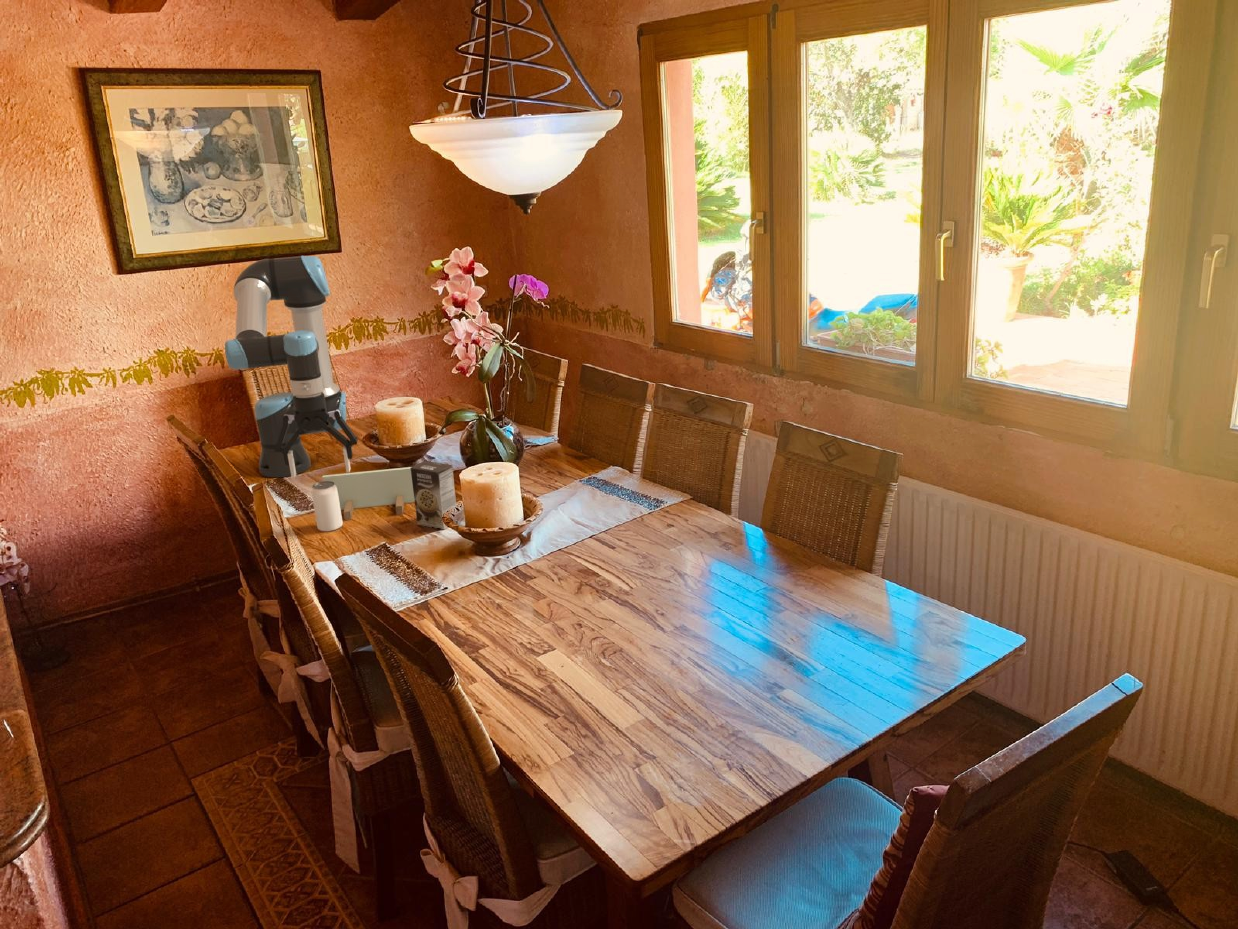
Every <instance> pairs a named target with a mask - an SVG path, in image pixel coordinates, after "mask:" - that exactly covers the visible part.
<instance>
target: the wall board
mask: <svg viewBox="0 0 1238 929" xmlns="http://www.w3.org/2000/svg"><path fill="white" fill-rule="evenodd" d="M411 467H412V466H408V467H399V468H388V469H387V468H386V469H378V470H377V469H376V470H367V471H366V470H365V471H356V472H349V473H347V472H346V473H345V472H344V473H336V474H328V475H327V474H325V475H322V478H321V480H322V481H332V482H334V483H335V484H334V485H335V486H336V487H337V491H338V497H339V503H340V509H341V511H342V510H343V518H344V521H351V520H352V518H353V515H354V514H353V513H354V509H362V508H370V507H380V506H391V505H395V512H396V516H401V515H404V506H405V504H411V503H415V500H414V492H413V484H412V476H411V469H410V468H411Z"/></svg>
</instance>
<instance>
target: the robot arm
mask: <svg viewBox="0 0 1238 929" xmlns="http://www.w3.org/2000/svg"><path fill="white" fill-rule="evenodd" d="M323 265H324V264H323V263H322V260H321V259H320V258H319V257H318V256H316V255H298V256H288V257H287V256H286V257H276V258H274V257H273V258H264V259H260V260H257V261H255V262H252V264H250V265H249V266H247V267H246V268H245V269H244V270H242V271H241V273H240V274H239V276H237V278H236V280H235V282H234V286H233V296H234V299H235V301H236V321H235V338H233V339H228V340H226V341H225V343H224V351H225V352H224V353H225V359H226V363H227V366H228V367H229V368H230V369H232V370H248V369H249V370H250V369H255V368H263V367H265V368H266V367H273V366H284V365H287V369H288V375H289V382H290V388H291V392H284V391H283V392H278V393H273V394H270V395H268V396H264V397H263V398H260V399H259V400H257V402H255V403H254V414H255V415H254V418H255V421H256V425H257V430H258V436H259V440H260V441H259V443H260V447H261V451H260V456H259V462H258V463H259V464H258V470H259V474H261V476H263V477H267V478H283V477H284V478H285V477H291V479H295V478H296V476H297V475H298V474H302V473H304V472H306V471H307V470H309V469H310V468H311V467H312V464H311V463H312V462H311V458H310V455H309V454H308V452H307V450H306V449H305V447H304V445H303V442H302V438H301V436H304V435H313V434H320V433H328V434H330V435H331V436H332V437H334V438H335V440H337V441H338V442H339V443H340V444H341V445H343V447H342V452H343V453H342V454H343V458H344V459H343V460H344V465H345V472H346V473H351V462H350V460H352V459H353V457H354V455H353V454H354V452H353V448H352V447H353V446H355V445H357V444H358V441H359V438H358V437H357V436H356V435H355V433H354V431H353V430H352V429H351V427H350V426H349V425H348V423H347V403H346V402H347V397H346V396H347V395H346V392H345V391H341V389H340V386H339V385H338V384H336V383H335V382H334V376H333V372H332V364H331V359H330V358H331V357H330V352H329V345H328V340H327V339H328V338H327V333H326V326H325V322H324V316H323V315H324V314H323V306H324V305H325V304H326V302H327V299H326V298H327V297H328V296H330V294H331V292H330V287H329V283H328V280H327V276H326V272H325V269H324V266H323ZM270 301H283V305H284V307H285V308H287V309H288V310H290V312H291V316H292V324H293V328H294V329H293V330H294V331H291V332H288V333H286V334H278V335H268V334H267V333H268V304H269V303H270ZM341 430H342V431H343V433H344V434H345V435H346V436H345V435H344V434H342V432H340V431H341Z"/></svg>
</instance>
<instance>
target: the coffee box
mask: <svg viewBox="0 0 1238 929" xmlns="http://www.w3.org/2000/svg"><path fill="white" fill-rule="evenodd" d="M410 467H411V468H410V469H411V476H412V484H413V492H414V500H415V502H414V507H415V515H416V521H417V522H416V524H417V525H419V526H425V527H429V528H432V527H434V528H433V529H437V528H441V529H440V530H442V529H445V528H446V529H448V528H449V527H446V526H445V524H444V523H443V520H442V517H443V514H444V513H446V512H447V511H448V510H451V509H453V508H454V507H456V508H457V500H456V499H457V498H456V490H455V480H454V469H453V464H448V463H442V462H436V461H429V460H424V461H422V462H419V463H416V464H415V465H413V466H410ZM446 529H445V530H446Z"/></svg>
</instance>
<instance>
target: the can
mask: <svg viewBox="0 0 1238 929" xmlns="http://www.w3.org/2000/svg"><path fill="white" fill-rule="evenodd" d="M334 484H335V483H334V482H332V481H323V480H322V481H318V482H315V483H313V484H312V485H311V487H312V490H311V497H312V498H311V500H312V504H313V509H314V516H315V522H316V525H317V529H318V530H319V531H320V532H324V533H325V532H327V533H328V532H334V531H336V530H339V529H341V528H342V526H343V525H344V523H343V522H344V521H343V517H342V510H341V509H340V503H339V497H338V491H337V487H336V486H335V485H334Z"/></svg>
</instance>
